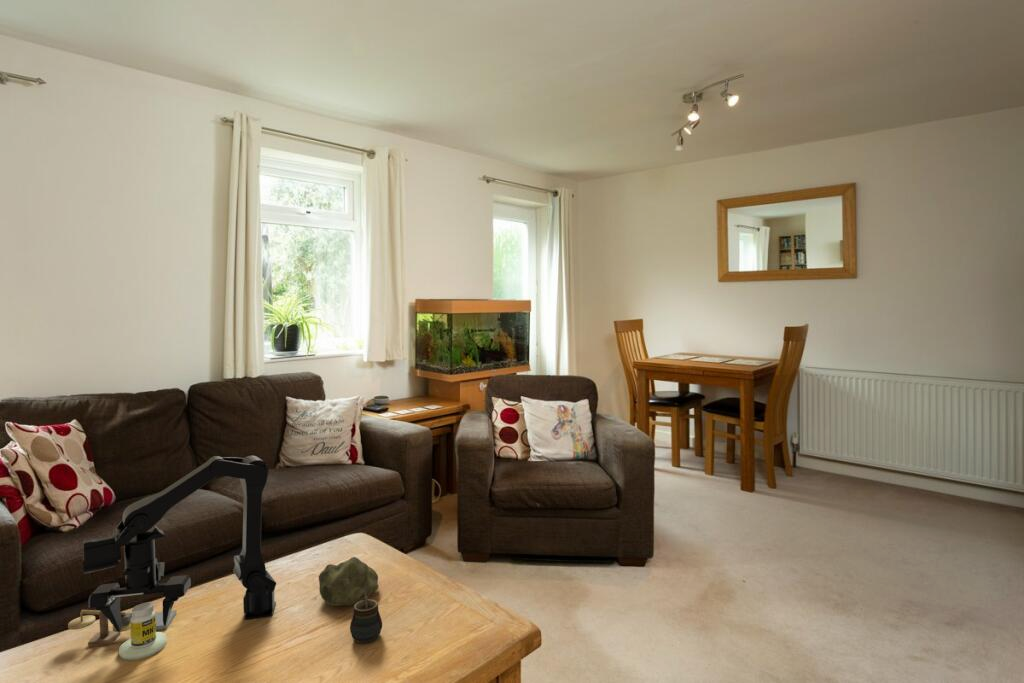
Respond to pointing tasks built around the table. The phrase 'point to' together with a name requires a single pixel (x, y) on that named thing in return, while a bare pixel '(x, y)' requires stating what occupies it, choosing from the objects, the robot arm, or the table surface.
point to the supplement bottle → (143, 625)
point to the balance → (104, 634)
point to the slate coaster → (160, 620)
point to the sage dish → (138, 653)
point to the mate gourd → (365, 621)
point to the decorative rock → (347, 582)
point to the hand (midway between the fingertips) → (142, 627)
